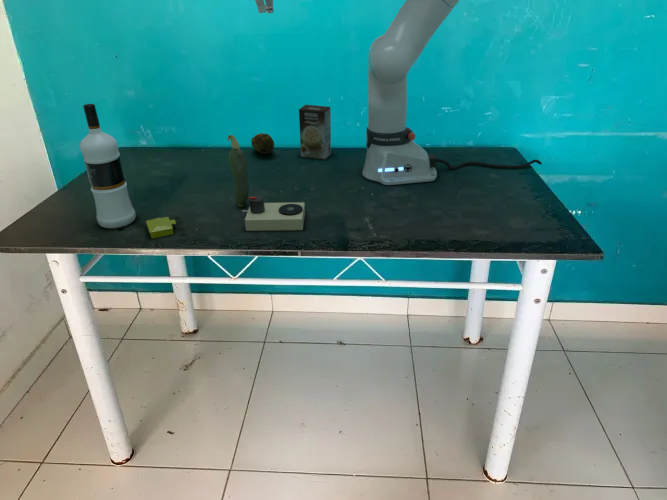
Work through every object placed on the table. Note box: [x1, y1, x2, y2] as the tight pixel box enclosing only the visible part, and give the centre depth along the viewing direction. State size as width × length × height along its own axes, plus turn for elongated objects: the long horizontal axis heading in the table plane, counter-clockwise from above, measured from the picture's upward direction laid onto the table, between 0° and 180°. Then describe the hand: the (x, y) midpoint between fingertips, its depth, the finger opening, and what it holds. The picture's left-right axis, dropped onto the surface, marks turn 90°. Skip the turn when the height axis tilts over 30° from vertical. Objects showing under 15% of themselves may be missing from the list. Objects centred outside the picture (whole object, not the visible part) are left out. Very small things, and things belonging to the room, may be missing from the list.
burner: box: [279, 204, 303, 216], centre depth 131 cm, size 6×6×1 cm
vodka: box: [79, 103, 137, 230], centre depth 127 cm, size 9×9×30 cm
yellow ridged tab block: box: [141, 216, 178, 243], centre depth 129 cm, size 10×9×3 cm
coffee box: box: [298, 104, 332, 160], centre depth 172 cm, size 9×6×16 cm
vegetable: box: [226, 134, 249, 208], centre depth 136 cm, size 4×4×20 cm
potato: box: [250, 132, 275, 155], centre depth 176 cm, size 8×13×8 cm, turn 1°
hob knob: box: [248, 195, 265, 214], centre depth 130 cm, size 4×4×4 cm
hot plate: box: [241, 201, 306, 232], centre depth 132 cm, size 15×10×3 cm, turn 89°
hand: (266, 13), depth 136 cm, fingers open, 8 cm apart
